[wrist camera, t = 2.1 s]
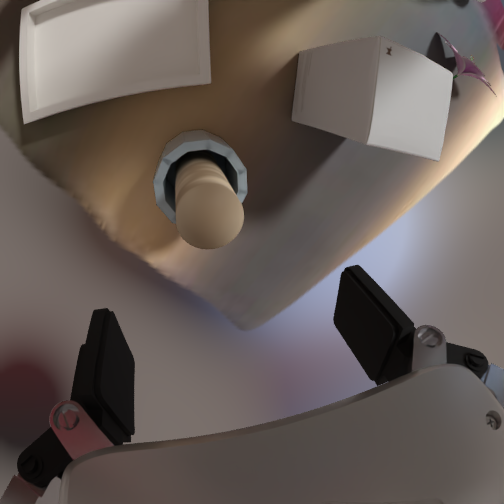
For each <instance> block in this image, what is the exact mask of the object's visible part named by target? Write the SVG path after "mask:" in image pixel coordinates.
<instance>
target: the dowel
mask: <svg viewBox="0 0 504 504" xmlns="http://www.w3.org/2000/svg"><path fill="white" fill-rule="evenodd" d="M175 202H176V226H177V229H178V232H179V234H180V235H181V237H182V238H183V239H184V240H185V241H186V242H187V243H189V244H190V245H192V246H194V247H197V248H200V249H215V248H219V247H222V246H224V245H226V244H228V243H229V242H231V241H232V240H233V239H234V238H235V237H236V236H237V235H238V233H239V232H240V230H241V228H242V225H243V221H244V211H243V207H242V204H241V202H240V201H239V199H238V197H237V195H236V194H235V192H234V190H233V189H232V187H231V185H230V184H229V182H228V180H227V179H226V177H225V175H224V174H223V172H222V170H221V169H220V167H219V165H218V164H217V162H216V160H215V159H214V157H213V156H212V154H211V153H209V152H208V151H207V150H197V151H189V152H186V153H185V154H184V155H182V156H181V157H180V158H178V160H177V163H176V176H175Z"/></svg>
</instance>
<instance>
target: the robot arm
mask: <svg viewBox="0 0 504 504" xmlns="http://www.w3.org/2000/svg"><path fill="white" fill-rule="evenodd" d="M333 320H334V324H335V326H336V328H337V329H338V331H339V332H340V334H341V335H342V337H343V339H344V340H345V341H346V343H347V345H348V346H349V348H350V349H351V351H352V352H353V354H354V355H355V357H356V358H357V360H358V361H359V363H360V364H361V366H362V368H363V369H364V370H365V372H366V374H367V375H368V377H369V378H370V379H371V380H372V381H373V380H374V381H375V382H376V384H377V387H375V388H372V389H370V390H367V391H365V392H362V393H360V394H357V395H354V396H352V397H349V398H346V399H344V400H341V401H338V402H335V403H332V404H329V405H326V406H323V407H320V408H317V409H314V410H311V411H308V412H304V413H301V414H297V415H294V416H291V417H287V418H283V419H279V420H276V421H272V422H267V423H264V424H259V425H255V426H250V427H246V428H241V429H236V430H231V431H227V432H221V433H215V434H209V435H203V436H196V437H189V438H181V439H173V440H165V441H155V442H144V443H135V444H125V445H123V442H131V435H134V433H135V427H134V372H135V369H134V368H135V362H134V358H133V355H132V353H131V351H130V349H129V346H128V344H127V342H126V340H125V338H124V335H123V333H122V331H121V328H120V326H119V324H118V321H117V319H116V317H115V314H114V312H113V311H111V312H110V311H109V310H108V308H105V309H98V310H94V311H93V314H92V318H91V322H90V326H89V330H88V334H87V339H86V343H85V344H83V345H82V346H81V348H80V351H79V356H78V360H77V366H76V371H75V376H74V381H73V387H72V393H71V399H70V400H65V401H62V402H60V403H58V404H57V405H56V406H55V407H54V408H53V409H52V411H51V413H50V418H49V419H50V425H51V427H50V428H49V429H48V430H47V431H46V432H45V433H43V434H42V435H41V436H40V437H39V438H38V439H37V440H35V441H34V442H33V443H32V444H31V445H30V446H29V447H27V448H26V449H25V450H24V451H23V452H22V453H21V454H20V456H19V458H18V462H17V468H18V472H19V473H18V475H17V476H16V475H14V476H13V477H12V479H11V481H10V483H9V485H8V486H7V488H6V490H5V492H4V494H3V496H2V497H1V499H0V504H504V369H502V368H500V367H498V366H496V365H494V364H492V363H491V365H488V361H487V359H486V357H485V356H484V355H483V353H481V352H480V351H477V350H475V349H470V348H467V347H463V346H459V345H455V344H451V343H447V342H446V339H445V336H444V334H443V333H442V332H441V331H440V330H439V329H438V328H436V327H434V326H430V325H423V326H420V327H418V328H417V329H416V328H415V327H414V323H413V322H412V321H411V320H410V319H409V318H408V317H407V315H406V314H405V313H404V312H403V311H402V310H401V309H400V308H399V307H398V306H397V304H396V303H395V302H394V301H393V300H392V299H391V298H390V297H389V296H388V295H387V294H386V293H385V292H384V290H383V289H382V288H381V287H380V286H379V285H378V284H377V283H376V282H375V281H374V280H373V279H372V278H371V277H370V276H369V275H368V274H367V273H366V272H365V271H364V270H363V269H362V268H361V267H360V266H359V265H355V266H350V267H346V268H345V270H344V271H343V272H342V273H341V278H340V284H339V290H338V296H337V302H336V308H335V313H334V319H333ZM386 382H387V383H386ZM383 383H385V384H383ZM381 384H382V385H381ZM378 385H380V386H378Z"/></svg>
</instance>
